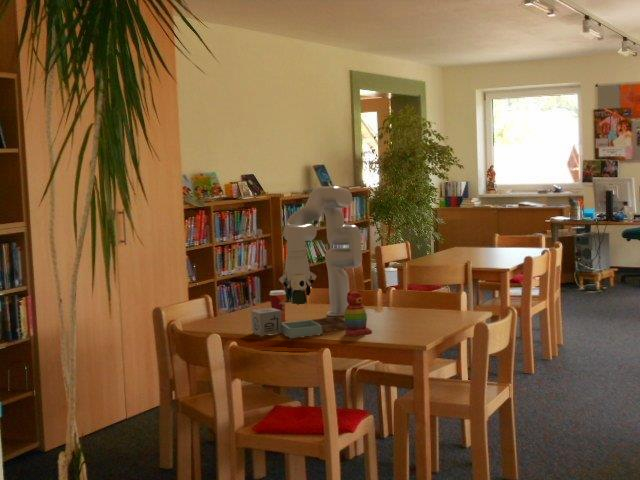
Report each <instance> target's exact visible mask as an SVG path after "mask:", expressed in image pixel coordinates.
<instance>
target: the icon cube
mask: <svg viewBox="0 0 640 480" xmlns="http://www.w3.org/2000/svg"><path fill="white" fill-rule="evenodd" d="M250 315H251V317H250V318H251V329H252V330H251V331H252V332H254V333H256V334H259V335H260V336H259V337H262V336H263V335H268V334H275V333H283V330H282V323H283V322H282V314H281V310H278V309H275V308H271V307H269V308H267V307H266V308H261V309H259V308H258V309H253V310H250ZM256 334H255V335H256ZM263 337H264V336H263Z"/></svg>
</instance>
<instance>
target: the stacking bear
mask: <svg viewBox="0 0 640 480" xmlns="http://www.w3.org/2000/svg"><path fill="white" fill-rule="evenodd" d="M363 301H364V296H363V294H362V292H361V290H353V291H349V292H348V293H347V302H348V304H349V305H348V306H347V308H346V310H345V316H344V320H345V323H346V327H347V329H345V335H346V334H347V335H346V336H348V335H349V337H355V336H354V335H357V336H359V334H361V335H370V333H371V334H372V333H373V330H372V329H371V328H369V327H367V323H368V316H367V312H366V308H365V306H364V304H363Z"/></svg>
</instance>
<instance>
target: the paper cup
mask: <svg viewBox="0 0 640 480" xmlns="http://www.w3.org/2000/svg"><path fill="white" fill-rule="evenodd" d="M268 295H269V299H270V306H271V307H270V308H275V309H278V310H281V314H282V321H283V322H285V321H286V295H287V292H286V291H285V290H283V289H280V290H278V289H277V290H270V291H269V294H268Z"/></svg>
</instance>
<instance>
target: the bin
mask: <svg viewBox="0 0 640 480" xmlns="http://www.w3.org/2000/svg"><path fill="white" fill-rule="evenodd" d="M322 325H323V324H321V325H320V324H318V323H316V322H314V321H313V319H306V320H297V321H289V322H287V321H286V322H282V330H283V333H284V334H286V335H287V336H288V337H289V339H298V338H297V337H301V338H303V337H302V336H309V337H311V336H310V335H318V334H322V335H323V332H322ZM284 334H283V335H284ZM286 335H285V336H286ZM287 336H286V337H287ZM318 336H319V335H318Z"/></svg>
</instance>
